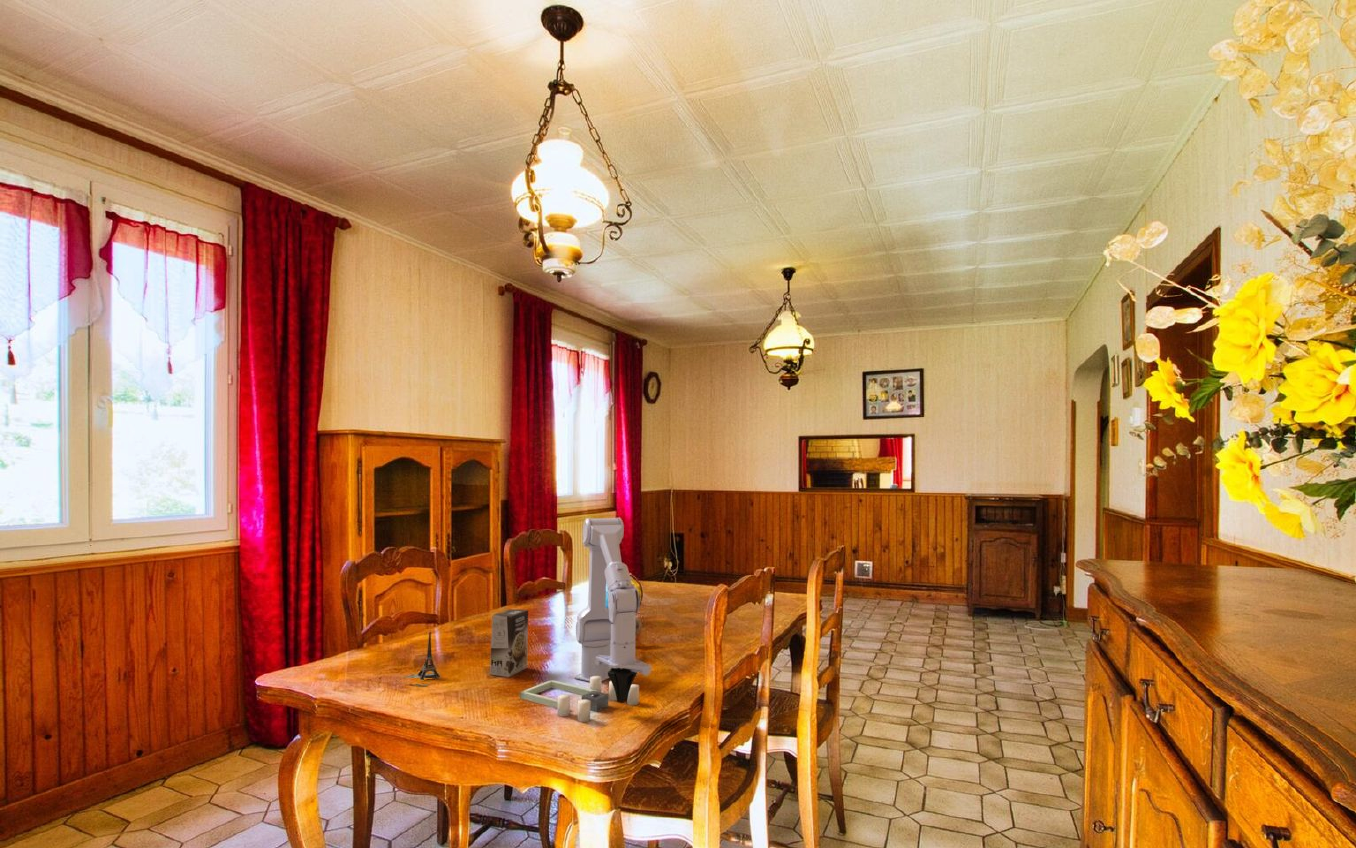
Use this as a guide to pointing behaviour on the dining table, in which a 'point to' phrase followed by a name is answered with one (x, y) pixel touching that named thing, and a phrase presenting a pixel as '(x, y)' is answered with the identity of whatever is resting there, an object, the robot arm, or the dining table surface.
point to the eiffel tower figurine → (427, 666)
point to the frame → (532, 692)
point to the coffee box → (509, 642)
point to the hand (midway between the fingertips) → (622, 701)
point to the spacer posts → (585, 704)
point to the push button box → (596, 700)
